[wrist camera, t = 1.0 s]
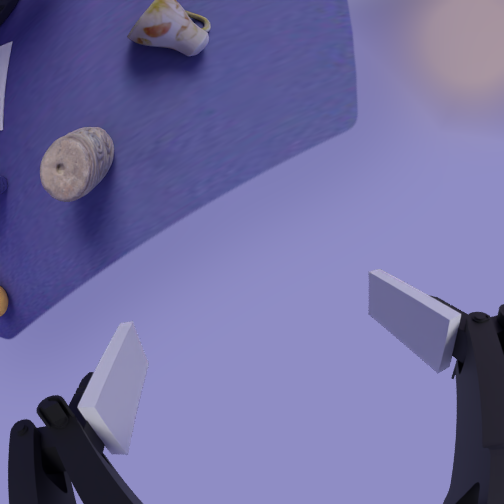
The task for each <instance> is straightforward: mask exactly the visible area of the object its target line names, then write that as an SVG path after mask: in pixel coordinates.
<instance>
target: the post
mask: <svg viewBox="0 0 504 504" xmlns="http://www.w3.org/2000/svg"><path fill="white" fill-rule="evenodd" d="M7 187H8V182H7V179H6V178H5V177H4V176H1V177H0V194H1V193H3V192H5V191H6V189H7Z"/></svg>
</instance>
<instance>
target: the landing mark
mask: <svg viewBox="0 0 504 504" xmlns="http://www.w3.org/2000/svg"><path fill="white" fill-rule="evenodd" d="M12 43H13V41H12V42H9V43H7V44H4V45H2V46H0V131H1V130H3V116H4V98H5V87H6V78H7V71H8V64H9V58H10V53H11V48H12Z"/></svg>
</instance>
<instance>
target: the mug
mask: <svg viewBox="0 0 504 504" xmlns="http://www.w3.org/2000/svg"><path fill="white" fill-rule="evenodd" d="M189 17H191V18H194V19H197V20H199V21H201V22H203V23H204V25H205V26H204V28H200V27H198V26H197V25H196V24H195V23H194V22H193V21H192V20H191V19H190V18H189ZM209 31H210V22H209V21H208V20H207V19H206V18H205V17H203V16H200V15H198V14H194V13H191V12H188V11H185V10H184V9H183V8H182V6H181V5H180V4H179V3H178V2H177V1H176V0H155V1H154V2H153V3H152V4H151V5H150V6H149V8H148V9H147V10H146V11H145V12H144V14H143V15H142V16H141V17H140V19H139V20H138V21H137V22H136V24H135V25H134V27H133V28H132V30H131V31H130V33H129V34H128V36H127V38H129V39H130V40H132V41H134V42H136V43H138V44H141V45H146V46H156V47H166V48H171V49H174V50H177V51H179V52H181V53H183V54H185V55H186V56H194V55H197V54H198V53H200V52H201V51H202V50H203V49H204V48H205V47H206V45H207V44H208V42H209V36H208V33H207V32H209Z"/></svg>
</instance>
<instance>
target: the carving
mask: <svg viewBox="0 0 504 504" xmlns="http://www.w3.org/2000/svg"><path fill="white" fill-rule="evenodd" d="M113 157H114V145H113V141H112V139H111V138H110V136H109V135H108V134H107V133H106V131H105V130H103V129H101V128H97V127H83V128H80V129H78V130H75V131H73V132H70V133H68V134H67V135H65V136H63V137H61V138H59V139H57V140H56V141H55V142H54V143H53V144H52V145H51V146H50V147H49V148H48V150H47V151H46V153H45V155H44V157H43V159H42V162H41V166H40V178H41V182H42V185H43V187H44V189H45V190H46V191H47V192H48V193H49V194H50V195H51V196H52V197H53V198H55V199H57V200H59V201H64V202H70V201H75V200H77V199H79V198H81V197H83V196H85V195H86V194H88V193H89V192H90V191H91V190H92V189H94V188H95V186H96V185H97V184H99V183H100V181H101V180H102V179H103V178H104V177H105V175H106V174H107V172H108V170H109V168H110V166H111V164H112V161H113Z"/></svg>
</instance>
